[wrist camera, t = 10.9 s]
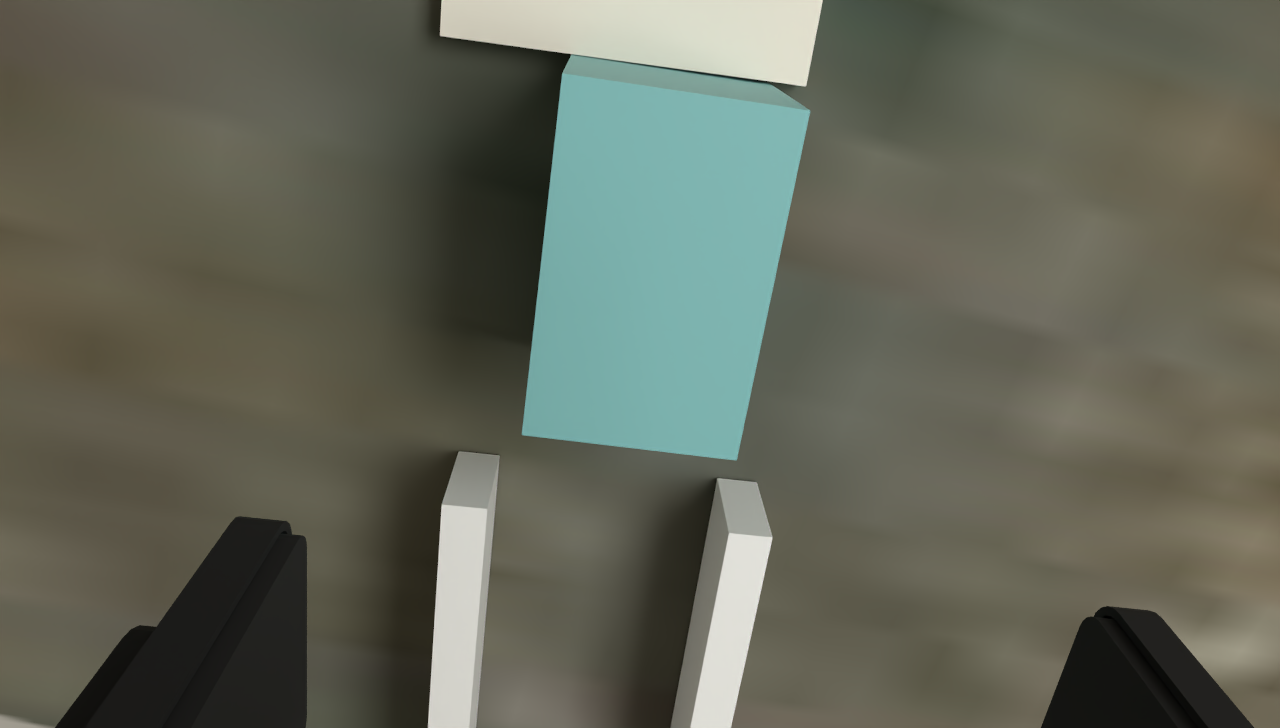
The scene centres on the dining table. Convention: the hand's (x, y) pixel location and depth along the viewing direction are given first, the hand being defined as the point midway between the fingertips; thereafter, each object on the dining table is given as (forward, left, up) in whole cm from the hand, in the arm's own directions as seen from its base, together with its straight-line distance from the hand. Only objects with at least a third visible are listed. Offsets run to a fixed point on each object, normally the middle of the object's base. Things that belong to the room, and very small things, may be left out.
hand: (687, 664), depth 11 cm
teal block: (0, +1, -16) cm, 16 cm away
